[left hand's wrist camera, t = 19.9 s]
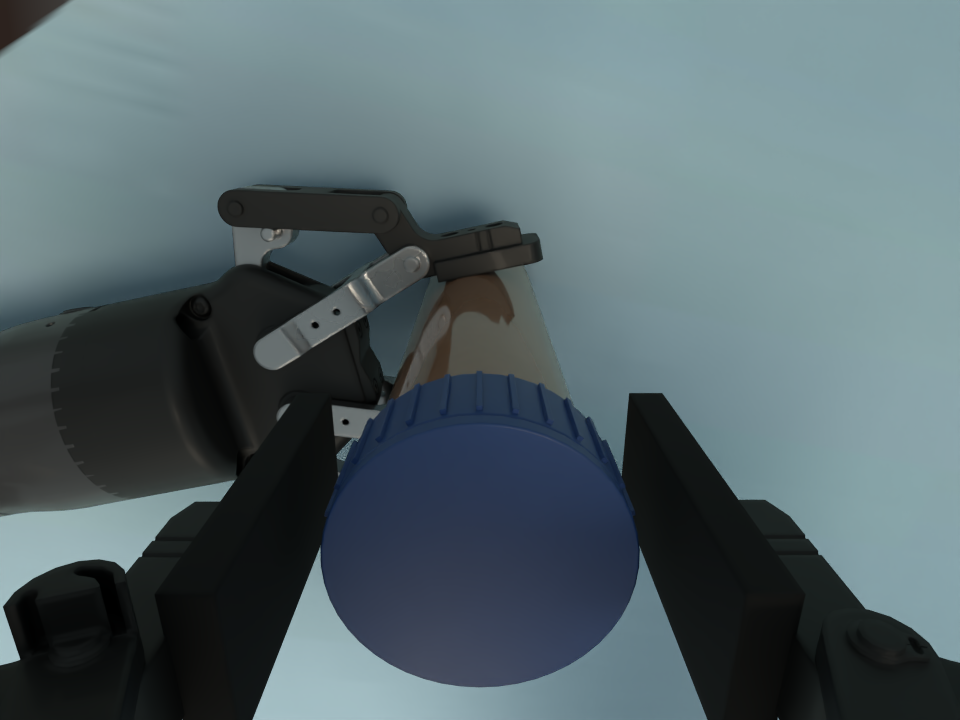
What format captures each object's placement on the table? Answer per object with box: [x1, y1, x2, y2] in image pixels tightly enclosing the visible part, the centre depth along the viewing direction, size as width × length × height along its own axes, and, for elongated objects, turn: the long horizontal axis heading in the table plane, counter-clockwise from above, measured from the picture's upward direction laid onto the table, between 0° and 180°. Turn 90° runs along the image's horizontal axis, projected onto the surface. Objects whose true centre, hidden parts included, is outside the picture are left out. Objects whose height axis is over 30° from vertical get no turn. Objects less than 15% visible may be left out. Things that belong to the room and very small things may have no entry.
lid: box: [321, 371, 640, 687], centre depth 11 cm, size 6×6×2 cm
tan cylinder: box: [386, 265, 574, 406], centre depth 20 cm, size 5×5×19 cm
